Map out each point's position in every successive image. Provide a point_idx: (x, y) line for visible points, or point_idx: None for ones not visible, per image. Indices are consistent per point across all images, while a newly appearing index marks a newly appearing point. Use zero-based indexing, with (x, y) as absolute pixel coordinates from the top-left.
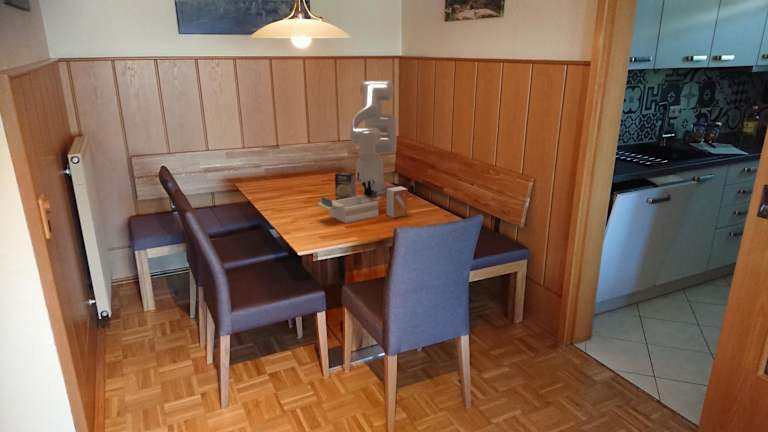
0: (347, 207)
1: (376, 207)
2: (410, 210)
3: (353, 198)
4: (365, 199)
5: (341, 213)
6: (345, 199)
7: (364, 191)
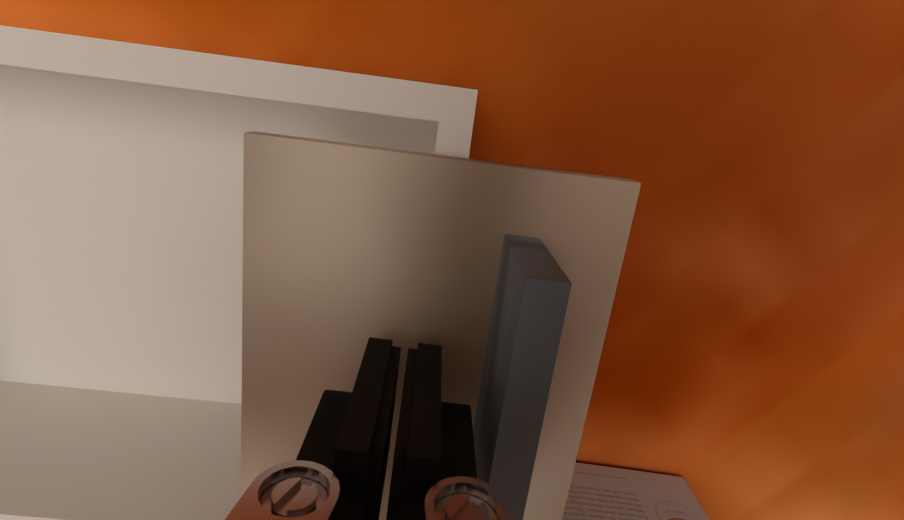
0: None
1: None
2: (801, 500)
3: (252, 96)
4: (257, 469)
5: None
6: (43, 68)
7: (316, 419)
